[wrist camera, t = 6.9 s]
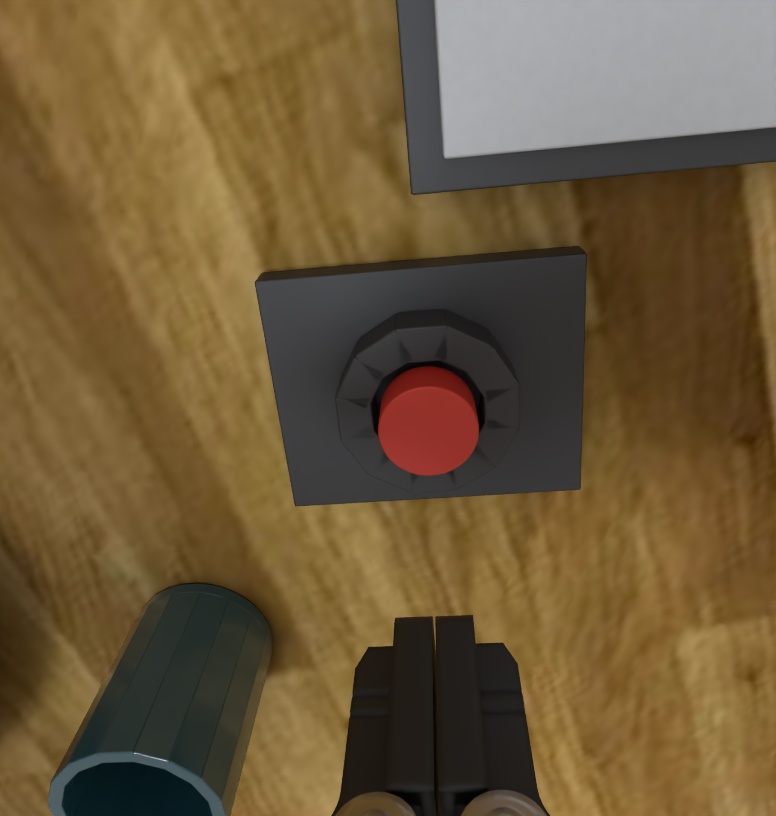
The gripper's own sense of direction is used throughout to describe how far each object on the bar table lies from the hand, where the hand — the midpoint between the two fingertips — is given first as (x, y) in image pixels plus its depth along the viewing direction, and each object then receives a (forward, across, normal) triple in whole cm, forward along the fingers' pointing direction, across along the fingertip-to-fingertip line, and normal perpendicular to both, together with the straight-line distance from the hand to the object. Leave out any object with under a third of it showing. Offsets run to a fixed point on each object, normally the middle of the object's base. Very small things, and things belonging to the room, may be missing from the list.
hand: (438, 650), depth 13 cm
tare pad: (+14, 0, 0) cm, 14 cm away
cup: (+14, -11, -12) cm, 21 cm away
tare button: (+11, 0, 0) cm, 11 cm away
